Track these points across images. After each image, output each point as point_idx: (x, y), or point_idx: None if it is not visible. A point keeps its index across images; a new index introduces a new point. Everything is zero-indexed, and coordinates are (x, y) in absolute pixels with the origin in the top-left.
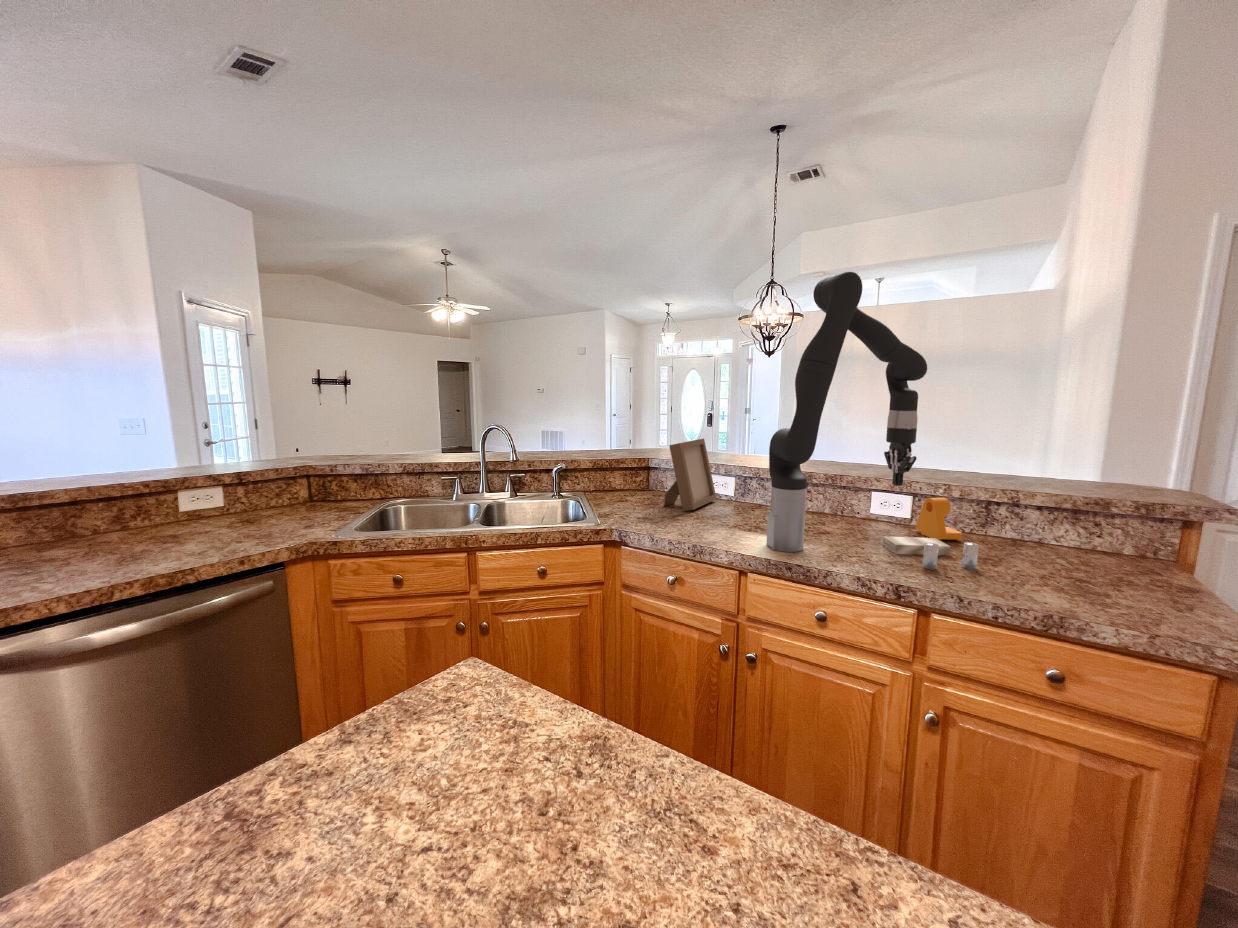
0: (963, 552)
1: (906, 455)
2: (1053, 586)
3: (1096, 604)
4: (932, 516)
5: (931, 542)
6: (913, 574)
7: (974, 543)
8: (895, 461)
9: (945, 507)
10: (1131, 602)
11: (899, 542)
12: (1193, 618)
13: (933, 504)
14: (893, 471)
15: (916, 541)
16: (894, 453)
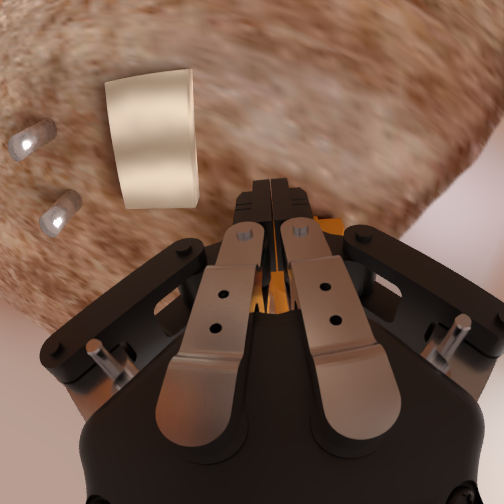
0: (56, 204)
1: (104, 392)
2: (47, 265)
3: (18, 269)
4: None
5: (148, 180)
6: (13, 95)
7: (55, 233)
8: (226, 289)
9: (275, 303)
10: (41, 300)
11: (126, 97)
12: (32, 313)
13: (282, 284)
14: (285, 222)
15: (147, 145)
16: (231, 380)
